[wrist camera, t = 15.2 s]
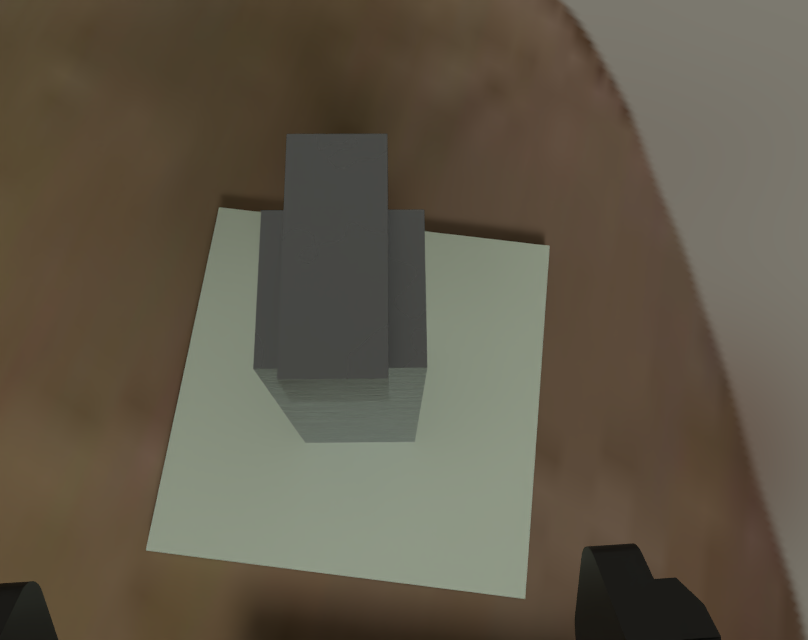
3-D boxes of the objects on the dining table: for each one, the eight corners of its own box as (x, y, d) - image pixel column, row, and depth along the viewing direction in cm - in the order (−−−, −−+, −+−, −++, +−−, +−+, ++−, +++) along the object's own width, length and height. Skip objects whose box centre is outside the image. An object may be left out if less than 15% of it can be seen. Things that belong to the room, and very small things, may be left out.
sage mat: (151, 550, 25) (145, 550, 24) (222, 214, 29) (219, 207, 28) (522, 597, 25) (525, 598, 24) (546, 252, 28) (549, 245, 28)
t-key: (304, 464, 25) (232, 379, 14) (308, 318, 27) (246, 133, 15) (415, 463, 25) (432, 377, 14) (412, 317, 27) (427, 134, 15)
